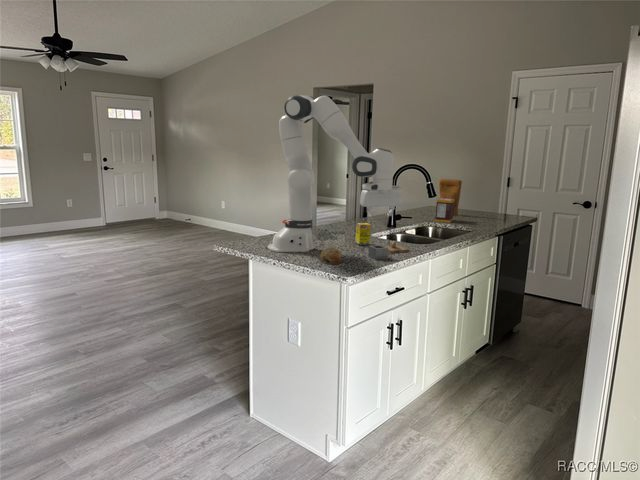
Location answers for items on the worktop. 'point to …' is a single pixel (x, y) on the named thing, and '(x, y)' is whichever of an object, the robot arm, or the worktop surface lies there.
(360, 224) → the supplement box
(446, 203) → the supplement box
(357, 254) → the worktop surface
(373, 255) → the grey hollow block
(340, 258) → the bread roll
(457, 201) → the pancake mix bag
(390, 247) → the tan flat piece
